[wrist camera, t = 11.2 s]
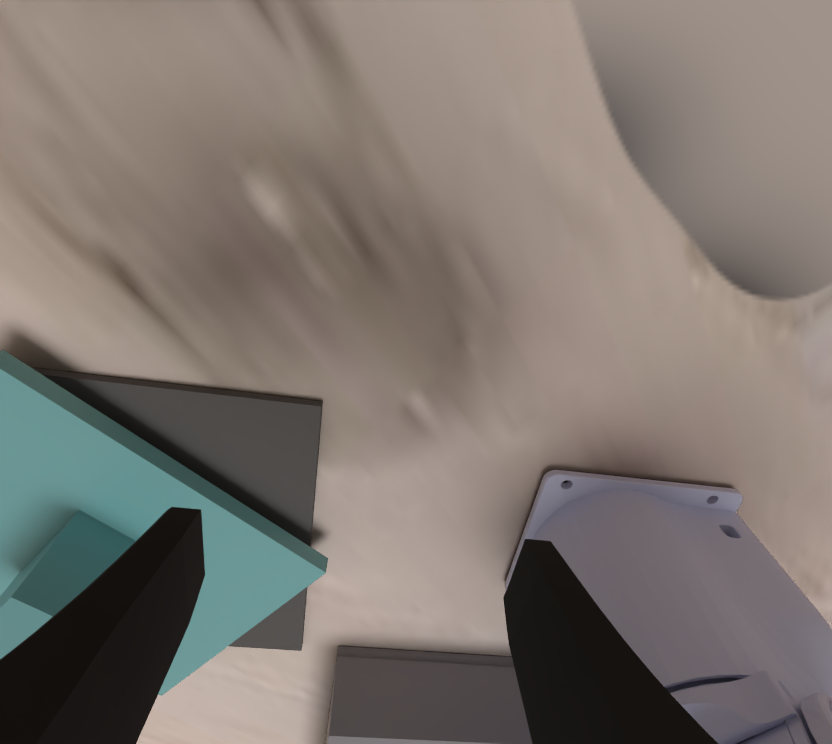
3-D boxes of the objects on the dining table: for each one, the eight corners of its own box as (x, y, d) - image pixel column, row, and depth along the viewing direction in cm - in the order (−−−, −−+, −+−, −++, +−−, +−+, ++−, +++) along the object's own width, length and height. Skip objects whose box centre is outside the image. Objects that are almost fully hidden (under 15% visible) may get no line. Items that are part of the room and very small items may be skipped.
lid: (329, 544, 23) (312, 661, 19) (173, 665, 27) (124, 788, 22) (18, 340, 18) (-125, 428, 13) (-121, 527, 22) (-270, 650, 17)
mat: (322, 401, 20) (321, 406, 20) (302, 643, 28) (301, 650, 27) (-169, 344, 18) (-181, 349, 18) (-49, 621, 26) (-55, 628, 25)
